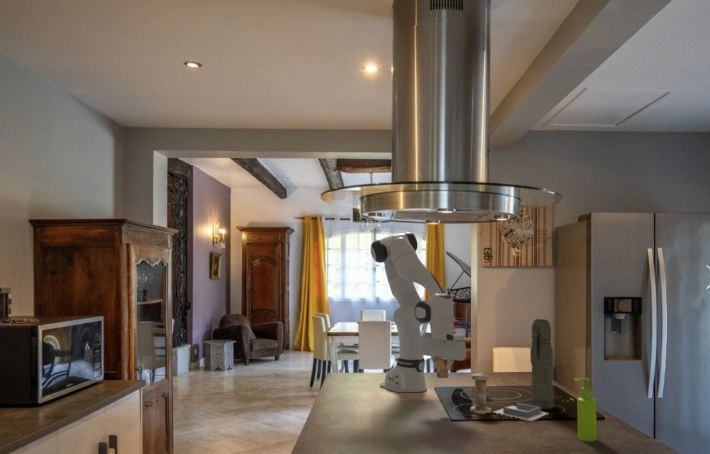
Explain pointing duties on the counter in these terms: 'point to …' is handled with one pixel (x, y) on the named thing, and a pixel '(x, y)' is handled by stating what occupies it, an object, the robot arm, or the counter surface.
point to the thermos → (541, 365)
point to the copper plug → (442, 368)
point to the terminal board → (522, 412)
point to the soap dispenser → (586, 413)
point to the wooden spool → (480, 394)
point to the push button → (483, 373)
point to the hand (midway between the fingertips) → (442, 369)
